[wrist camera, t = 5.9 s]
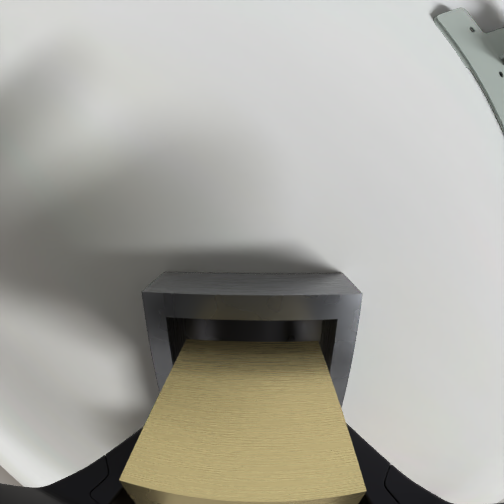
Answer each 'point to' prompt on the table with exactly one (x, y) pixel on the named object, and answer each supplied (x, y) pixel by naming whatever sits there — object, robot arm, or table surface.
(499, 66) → the metal bracket
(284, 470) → the tan knobbed block
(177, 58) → the table surface
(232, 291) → the grey slotted tray
